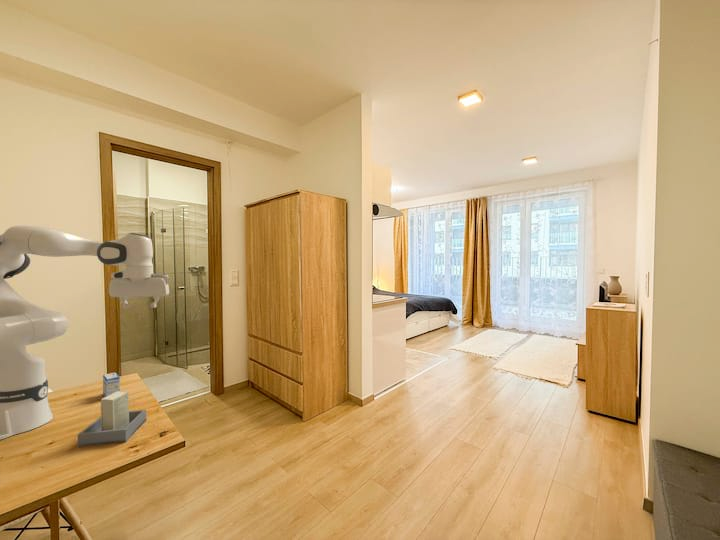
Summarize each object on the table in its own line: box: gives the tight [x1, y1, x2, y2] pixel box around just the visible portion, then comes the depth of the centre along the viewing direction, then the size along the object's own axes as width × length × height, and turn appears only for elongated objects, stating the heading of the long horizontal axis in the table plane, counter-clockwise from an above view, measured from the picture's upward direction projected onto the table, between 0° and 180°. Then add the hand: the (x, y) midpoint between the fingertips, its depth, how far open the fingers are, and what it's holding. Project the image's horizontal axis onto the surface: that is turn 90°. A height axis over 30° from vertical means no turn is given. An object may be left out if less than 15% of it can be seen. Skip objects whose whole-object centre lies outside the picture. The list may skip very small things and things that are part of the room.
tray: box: [77, 409, 147, 448], centre depth 98 cm, size 13×13×4 cm
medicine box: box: [102, 372, 121, 397], centre depth 126 cm, size 8×4×9 cm, turn 50°
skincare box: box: [100, 390, 130, 431], centre depth 98 cm, size 6×4×12 cm
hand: (140, 307), depth 118 cm, fingers open, 8 cm apart
